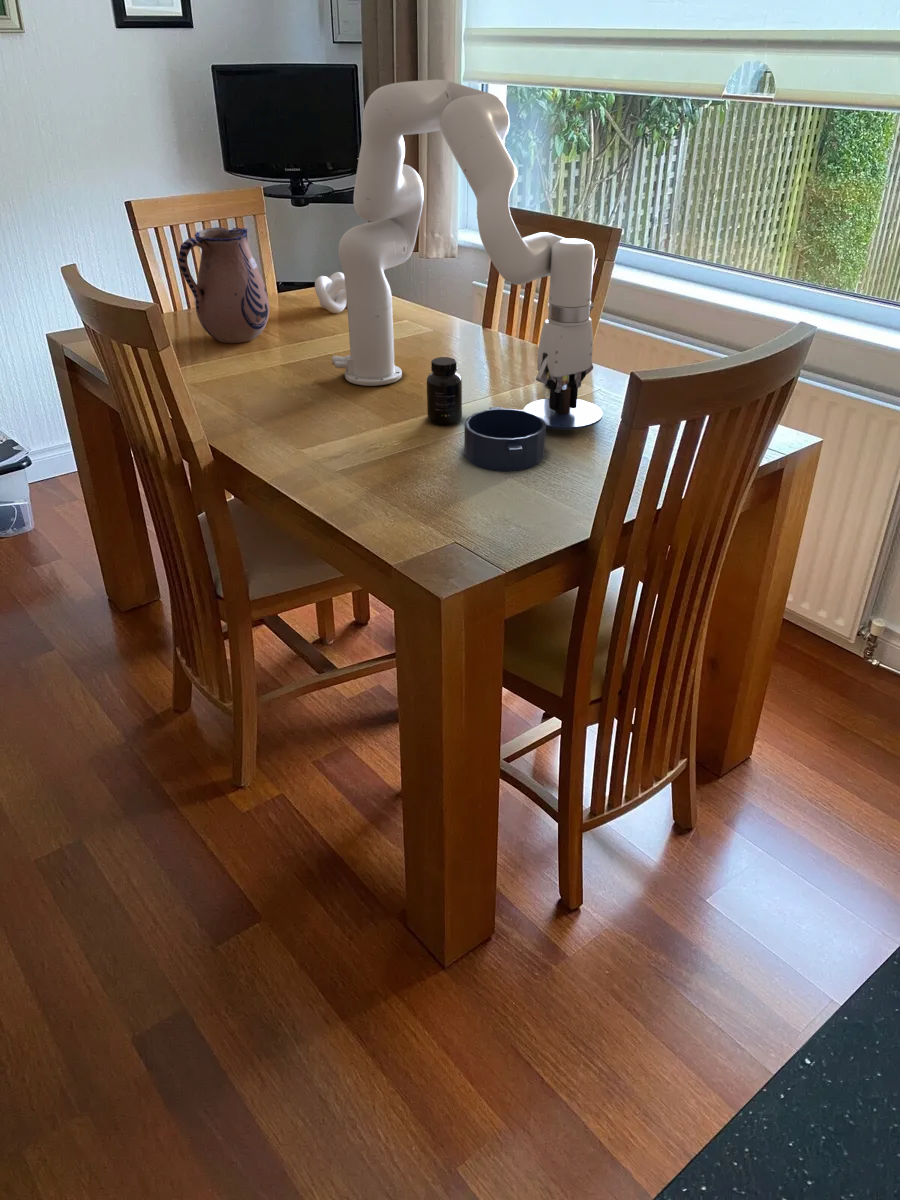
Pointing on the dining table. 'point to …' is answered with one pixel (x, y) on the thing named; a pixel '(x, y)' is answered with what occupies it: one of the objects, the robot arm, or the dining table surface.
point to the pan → (504, 439)
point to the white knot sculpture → (332, 292)
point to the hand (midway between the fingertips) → (562, 407)
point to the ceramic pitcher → (227, 285)
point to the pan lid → (566, 412)
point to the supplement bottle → (444, 392)
